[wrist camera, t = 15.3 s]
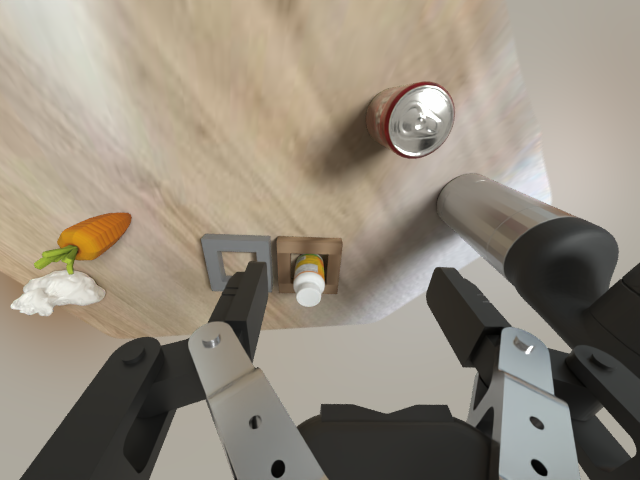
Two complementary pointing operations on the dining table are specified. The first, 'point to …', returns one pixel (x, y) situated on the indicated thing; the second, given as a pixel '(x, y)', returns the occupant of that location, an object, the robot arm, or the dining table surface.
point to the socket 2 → (308, 247)
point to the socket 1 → (236, 244)
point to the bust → (58, 292)
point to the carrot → (87, 240)
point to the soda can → (411, 118)
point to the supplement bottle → (309, 279)
